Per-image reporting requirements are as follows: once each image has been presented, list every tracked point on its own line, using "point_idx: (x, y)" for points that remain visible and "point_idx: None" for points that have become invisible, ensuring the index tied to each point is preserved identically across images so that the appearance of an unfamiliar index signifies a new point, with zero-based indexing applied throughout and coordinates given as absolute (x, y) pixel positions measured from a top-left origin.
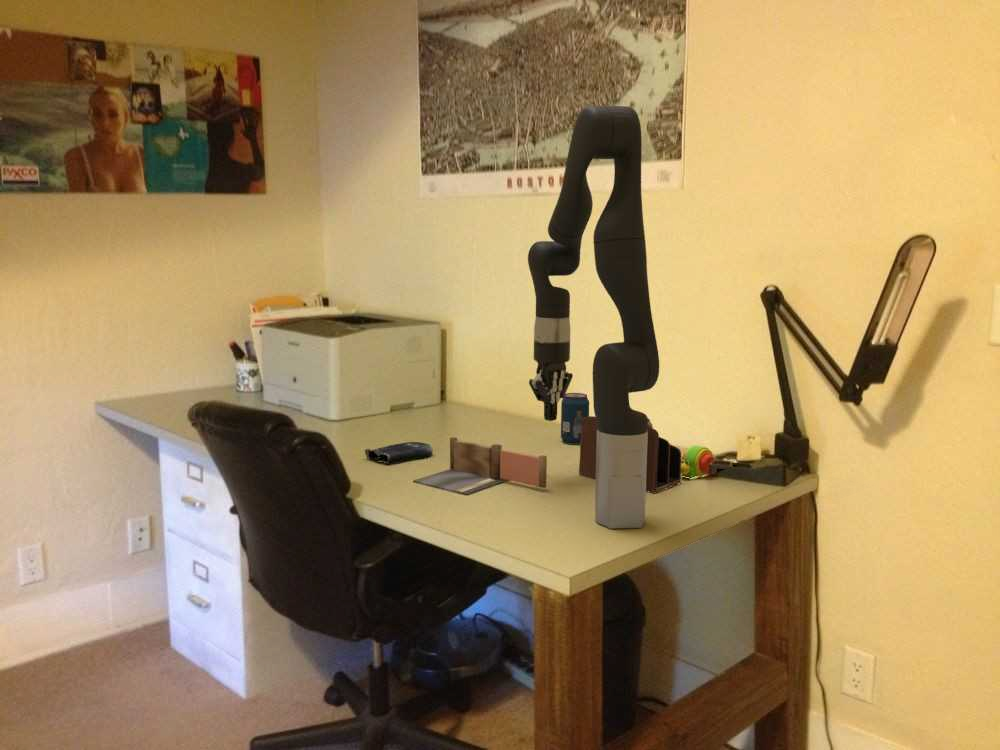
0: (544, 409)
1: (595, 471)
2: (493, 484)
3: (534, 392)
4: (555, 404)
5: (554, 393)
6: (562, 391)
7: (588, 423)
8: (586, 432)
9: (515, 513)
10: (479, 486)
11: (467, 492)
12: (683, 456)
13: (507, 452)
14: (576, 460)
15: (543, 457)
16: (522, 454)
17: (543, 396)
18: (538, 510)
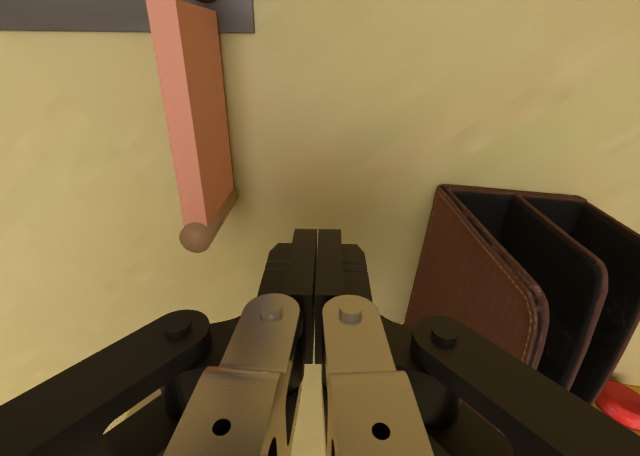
0: (261, 281)
1: (430, 252)
2: (142, 29)
3: (38, 397)
4: (319, 358)
5: (289, 451)
6: (434, 453)
7: (512, 324)
8: (494, 287)
9: (35, 247)
10: (83, 2)
11: (4, 19)
12: (613, 410)
13: (156, 52)
14: (625, 67)
15: (186, 248)
16: (178, 139)
17: (116, 435)
18: (99, 273)
